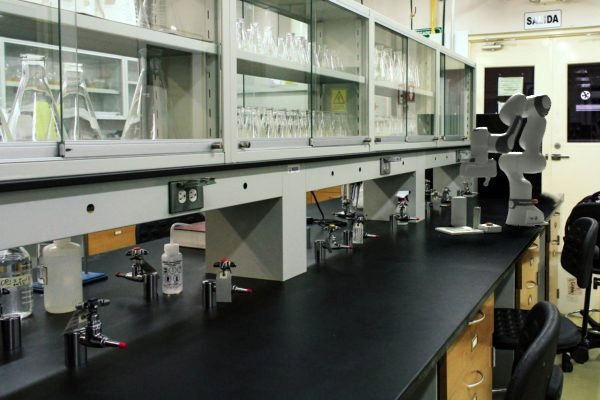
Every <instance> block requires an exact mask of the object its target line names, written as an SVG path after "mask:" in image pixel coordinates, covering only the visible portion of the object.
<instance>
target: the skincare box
mask: <svg viewBox="0 0 600 400" xmlns="http://www.w3.org/2000/svg"><path fill="white" fill-rule="evenodd" d="M450 202H451V203H450V205H451V208H450V209H451V210H450V211H451V214H450V215H451V217H450V218H451V221H450V222H451V223H450V224H451V226H452V227H464V226H466V227H467V197H466V196H463V195H462V196H451V201H450Z"/></svg>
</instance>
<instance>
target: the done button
mask: <svg viewBox="0 0 600 400" xmlns="http://www.w3.org/2000/svg"><path fill="white" fill-rule="evenodd" d="M485 224H486V226H493V224H494V223H493V222H486V223H485Z"/></svg>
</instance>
